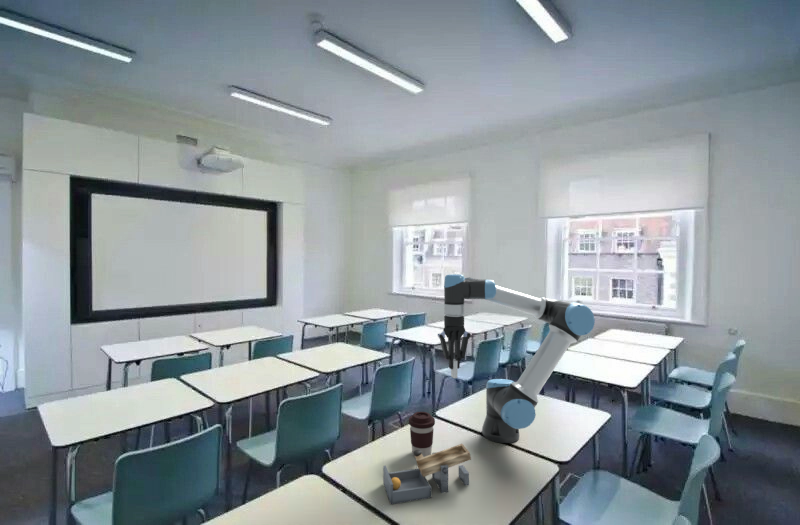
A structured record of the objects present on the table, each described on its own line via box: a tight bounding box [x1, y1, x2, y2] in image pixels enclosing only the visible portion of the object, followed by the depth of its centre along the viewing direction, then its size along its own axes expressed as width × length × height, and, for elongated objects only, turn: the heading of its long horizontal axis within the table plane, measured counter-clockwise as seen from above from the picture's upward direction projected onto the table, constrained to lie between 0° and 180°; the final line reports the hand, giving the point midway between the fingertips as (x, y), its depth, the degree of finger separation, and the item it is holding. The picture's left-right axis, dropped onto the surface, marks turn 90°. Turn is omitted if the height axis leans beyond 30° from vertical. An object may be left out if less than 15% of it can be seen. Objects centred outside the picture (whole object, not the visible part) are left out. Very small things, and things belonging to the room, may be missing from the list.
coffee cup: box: [408, 411, 436, 457], centre depth 143 cm, size 10×10×15 cm
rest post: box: [457, 464, 470, 486], centre depth 126 cm, size 2×5×4 cm, turn 14°
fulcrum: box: [431, 451, 449, 494], centre depth 124 cm, size 2×10×8 cm, turn 14°
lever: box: [412, 443, 472, 478], centre depth 128 cm, size 17×14×2 cm
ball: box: [391, 477, 401, 490], centre depth 120 cm, size 4×4×4 cm
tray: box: [382, 465, 432, 505], centre depth 121 cm, size 13×11×6 cm
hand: (454, 377), depth 143 cm, fingers closed
